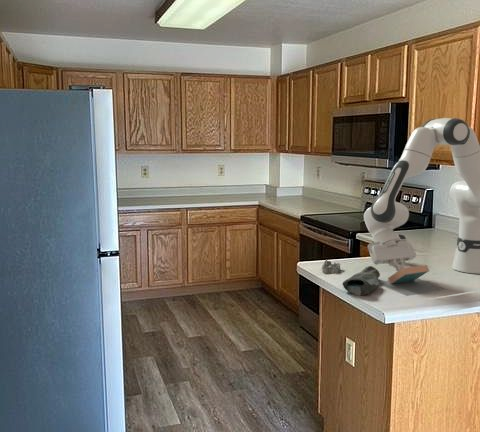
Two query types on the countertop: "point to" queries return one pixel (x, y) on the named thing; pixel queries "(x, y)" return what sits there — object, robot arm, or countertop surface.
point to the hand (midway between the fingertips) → (401, 270)
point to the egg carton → (330, 267)
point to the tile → (408, 274)
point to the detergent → (366, 277)
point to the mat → (412, 287)
